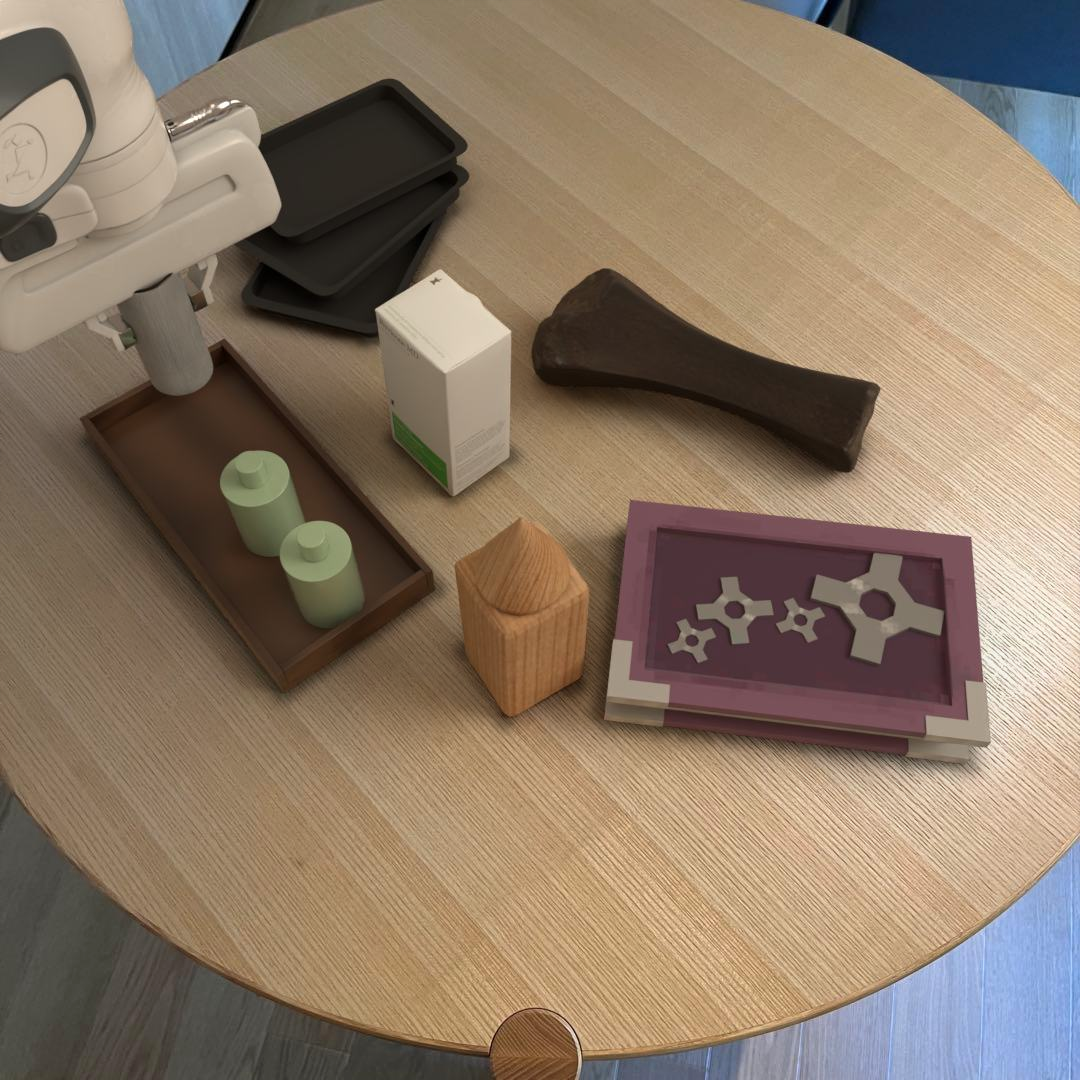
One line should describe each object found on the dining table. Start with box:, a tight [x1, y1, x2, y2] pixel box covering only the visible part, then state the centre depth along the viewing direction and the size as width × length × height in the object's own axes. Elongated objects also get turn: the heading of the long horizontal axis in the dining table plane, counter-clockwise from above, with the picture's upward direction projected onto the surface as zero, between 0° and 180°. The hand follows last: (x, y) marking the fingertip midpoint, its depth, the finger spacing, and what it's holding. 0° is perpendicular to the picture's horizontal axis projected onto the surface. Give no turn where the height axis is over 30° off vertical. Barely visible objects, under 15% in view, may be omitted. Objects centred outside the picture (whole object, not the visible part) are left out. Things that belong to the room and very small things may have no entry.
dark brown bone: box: [530, 267, 882, 474], centre depth 93 cm, size 11×10×28 cm
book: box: [603, 499, 992, 765], centre depth 81 cm, size 25×16×5 cm, turn 82°
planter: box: [116, 272, 213, 396], centre depth 77 cm, size 4×4×10 cm
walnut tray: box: [79, 337, 436, 694], centre depth 88 cm, size 14×30×3 cm, turn 39°
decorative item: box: [454, 516, 590, 718], centre depth 74 cm, size 7×7×20 cm
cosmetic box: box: [375, 268, 512, 497], centre depth 86 cm, size 8×7×16 cm
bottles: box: [220, 451, 365, 629], centre depth 82 cm, size 5×13×9 cm, turn 40°
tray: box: [232, 78, 470, 338], centre depth 105 cm, size 30×23×5 cm
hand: (161, 323), depth 77 cm, fingers closed on planter, 4 cm apart
